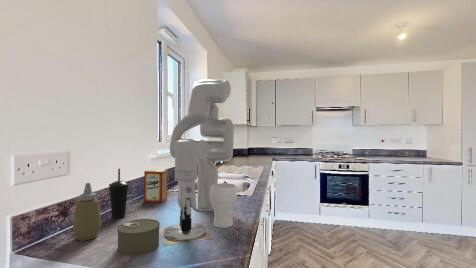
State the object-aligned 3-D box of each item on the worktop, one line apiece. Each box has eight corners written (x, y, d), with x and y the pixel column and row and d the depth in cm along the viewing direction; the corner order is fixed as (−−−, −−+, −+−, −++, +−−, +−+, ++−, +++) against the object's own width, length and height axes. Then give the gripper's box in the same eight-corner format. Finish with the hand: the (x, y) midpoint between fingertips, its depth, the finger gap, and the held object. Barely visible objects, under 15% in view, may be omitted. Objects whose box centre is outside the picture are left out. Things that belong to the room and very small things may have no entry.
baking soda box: (167, 199, 134) (167, 169, 134) (161, 202, 128) (161, 171, 128) (150, 198, 136) (150, 168, 136) (144, 201, 129) (144, 170, 129)
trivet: (202, 223, 98) (202, 222, 98) (214, 239, 83) (214, 238, 83) (159, 228, 92) (159, 227, 92) (163, 246, 77) (163, 245, 77)
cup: (240, 222, 100) (241, 184, 100) (231, 231, 90) (231, 189, 90) (216, 219, 104) (216, 182, 104) (204, 227, 93) (204, 187, 94)
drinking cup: (120, 220, 101) (121, 170, 101) (104, 218, 102) (104, 169, 102) (132, 214, 108) (132, 167, 108) (116, 213, 110) (117, 167, 110)
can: (141, 260, 69) (142, 235, 69) (107, 253, 73) (107, 229, 73) (167, 242, 80) (167, 221, 80) (136, 237, 84) (136, 217, 84)
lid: (200, 223, 97) (200, 207, 97) (210, 237, 84) (210, 219, 84) (162, 228, 92) (162, 211, 92) (166, 243, 79) (166, 224, 79)
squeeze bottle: (81, 233, 88) (81, 181, 88) (105, 232, 88) (105, 180, 88) (67, 243, 79) (67, 185, 80) (94, 242, 80) (94, 185, 80)
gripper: (202, 178, 81) (201, 235, 81) (192, 171, 97) (191, 219, 97) (178, 180, 79) (177, 239, 79) (172, 172, 94) (171, 222, 94)
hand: (185, 228), depth 88 cm, fingers closed on lid, 3 cm apart
